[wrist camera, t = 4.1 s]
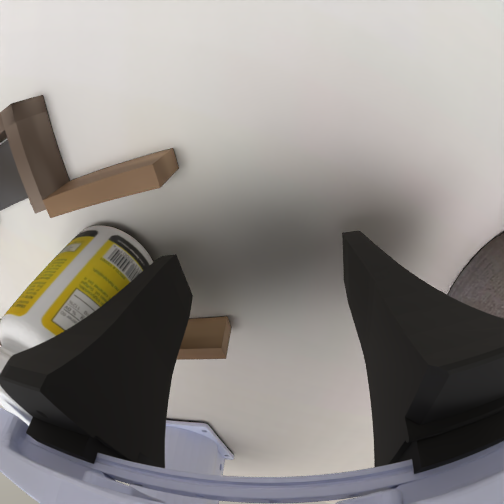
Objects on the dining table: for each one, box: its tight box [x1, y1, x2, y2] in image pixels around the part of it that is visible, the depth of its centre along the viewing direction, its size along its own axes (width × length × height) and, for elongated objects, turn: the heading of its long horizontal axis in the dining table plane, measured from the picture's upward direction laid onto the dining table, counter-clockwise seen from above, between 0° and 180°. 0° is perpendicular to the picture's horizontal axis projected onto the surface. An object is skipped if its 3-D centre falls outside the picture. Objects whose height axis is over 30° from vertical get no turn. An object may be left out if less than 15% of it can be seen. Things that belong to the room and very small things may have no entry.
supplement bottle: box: [0, 226, 153, 426], centre depth 10 cm, size 5×5×8 cm
